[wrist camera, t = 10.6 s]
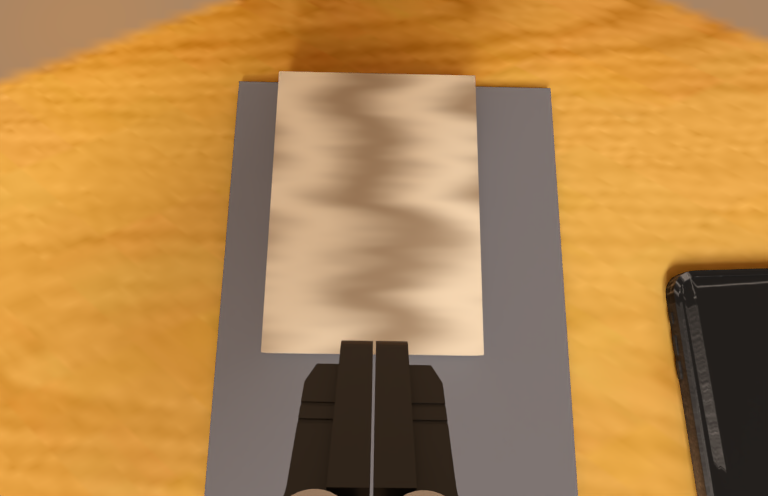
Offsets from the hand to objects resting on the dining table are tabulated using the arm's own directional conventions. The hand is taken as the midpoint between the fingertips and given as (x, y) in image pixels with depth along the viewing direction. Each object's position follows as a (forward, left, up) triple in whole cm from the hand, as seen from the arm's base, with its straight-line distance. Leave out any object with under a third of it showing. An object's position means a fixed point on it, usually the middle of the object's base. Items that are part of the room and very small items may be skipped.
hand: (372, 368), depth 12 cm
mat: (-1, -5, -14) cm, 14 cm away
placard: (0, -1, -12) cm, 12 cm away
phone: (-19, +2, -14) cm, 24 cm away
